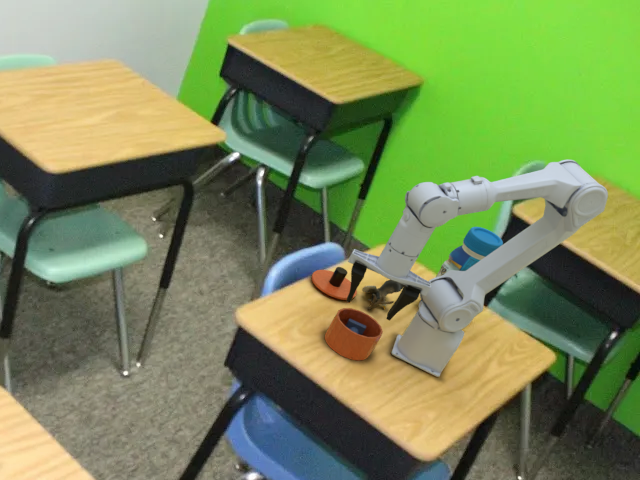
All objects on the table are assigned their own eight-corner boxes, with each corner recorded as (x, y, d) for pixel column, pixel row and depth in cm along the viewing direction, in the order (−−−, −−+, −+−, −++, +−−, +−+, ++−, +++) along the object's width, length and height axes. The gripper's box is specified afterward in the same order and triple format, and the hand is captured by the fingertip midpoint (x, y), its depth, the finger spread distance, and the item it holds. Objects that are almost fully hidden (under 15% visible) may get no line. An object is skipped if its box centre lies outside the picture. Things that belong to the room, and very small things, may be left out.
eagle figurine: (396, 319, 186) (409, 295, 191) (391, 289, 182) (404, 265, 188) (358, 318, 190) (371, 294, 196) (352, 288, 187) (366, 265, 193)
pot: (372, 345, 178) (386, 323, 175) (364, 367, 171) (378, 344, 168) (330, 323, 180) (342, 302, 177) (320, 344, 173) (332, 322, 170)
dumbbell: (341, 331, 178) (349, 318, 176) (358, 339, 177) (366, 325, 175) (336, 347, 173) (345, 333, 171) (354, 355, 172) (362, 341, 170)
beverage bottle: (444, 331, 189) (497, 251, 177) (409, 308, 193) (459, 228, 181) (462, 321, 194) (514, 242, 183) (427, 298, 199) (477, 220, 187)
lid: (358, 288, 194) (368, 271, 191) (349, 308, 187) (359, 290, 184) (315, 268, 196) (325, 250, 194) (305, 286, 189) (314, 269, 186)
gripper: (445, 255, 164) (408, 315, 172) (367, 221, 167) (334, 282, 175) (442, 272, 159) (404, 333, 167) (362, 237, 161) (328, 299, 169)
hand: (368, 308), depth 170 cm, fingers open, 7 cm apart
